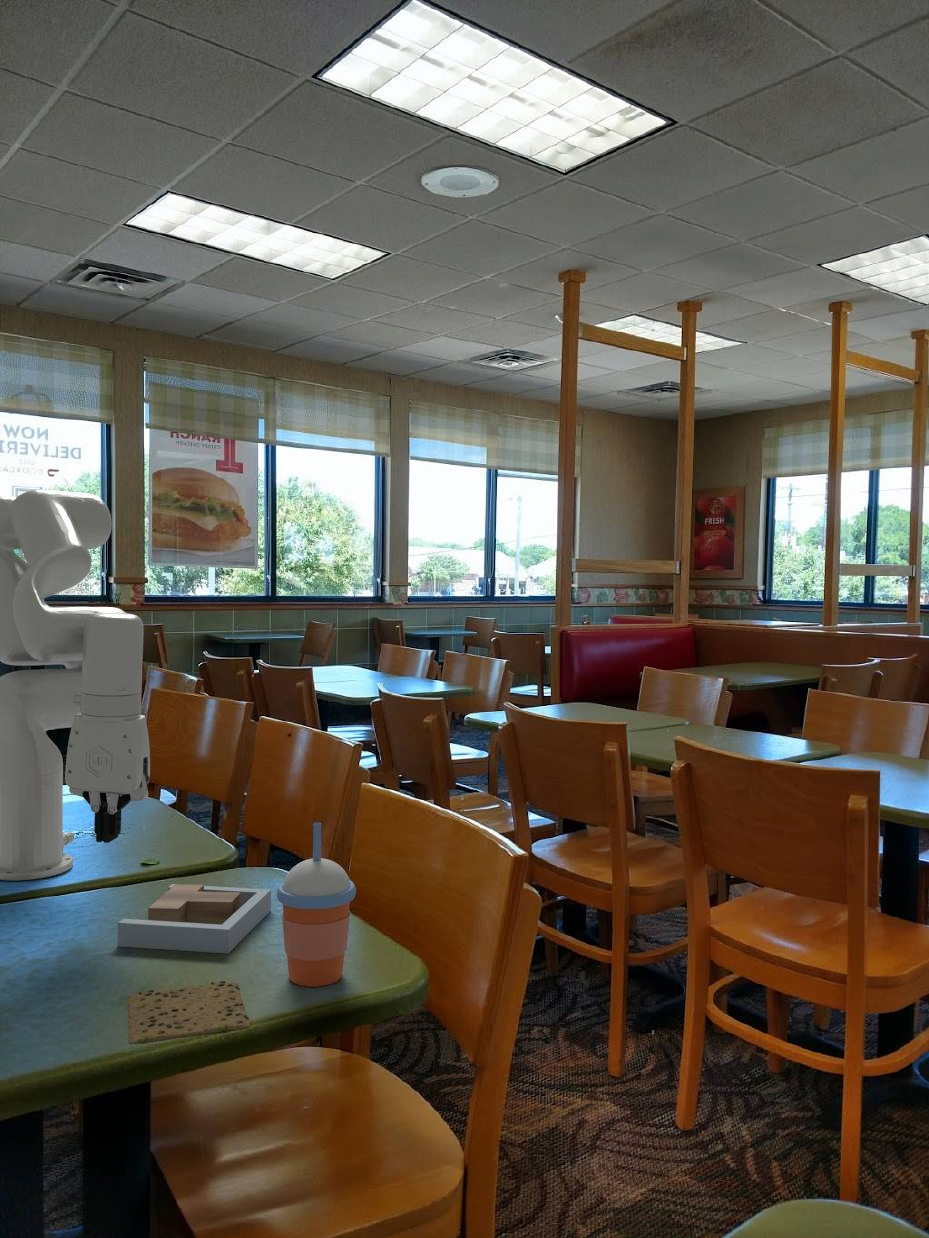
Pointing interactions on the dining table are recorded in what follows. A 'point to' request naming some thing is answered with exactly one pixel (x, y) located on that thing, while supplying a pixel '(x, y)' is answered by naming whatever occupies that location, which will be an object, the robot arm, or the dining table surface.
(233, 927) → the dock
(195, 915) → the t block
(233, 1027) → the cookie
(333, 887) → the cup with straw
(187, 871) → the dining table surface
